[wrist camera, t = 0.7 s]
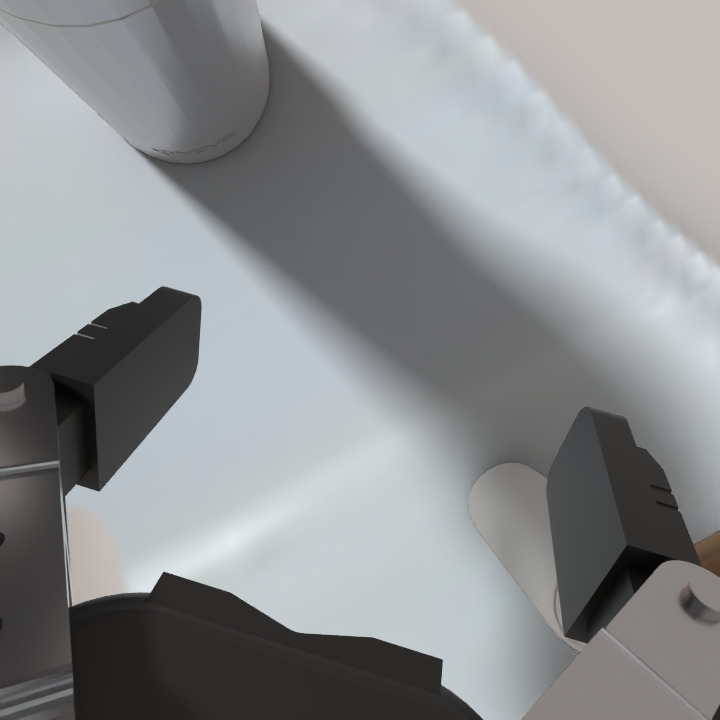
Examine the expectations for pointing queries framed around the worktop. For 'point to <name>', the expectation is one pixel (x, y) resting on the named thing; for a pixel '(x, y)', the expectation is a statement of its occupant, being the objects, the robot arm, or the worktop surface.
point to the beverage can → (520, 534)
